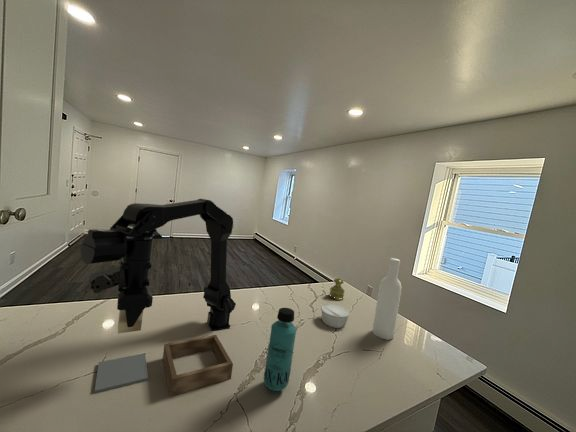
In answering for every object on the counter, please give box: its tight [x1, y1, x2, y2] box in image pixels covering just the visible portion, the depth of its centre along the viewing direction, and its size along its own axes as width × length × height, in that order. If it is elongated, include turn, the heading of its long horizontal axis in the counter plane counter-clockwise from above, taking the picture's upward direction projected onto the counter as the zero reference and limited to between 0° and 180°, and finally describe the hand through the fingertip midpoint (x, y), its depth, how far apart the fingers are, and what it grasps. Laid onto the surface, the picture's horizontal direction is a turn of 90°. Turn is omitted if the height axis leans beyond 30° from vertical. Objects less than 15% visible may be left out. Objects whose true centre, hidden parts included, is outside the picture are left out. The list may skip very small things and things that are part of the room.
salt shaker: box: [329, 278, 346, 301], centre depth 130 cm, size 7×7×10 cm
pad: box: [94, 352, 149, 394], centre depth 60 cm, size 10×10×1 cm
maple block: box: [117, 310, 144, 334], centre depth 59 cm, size 4×4×6 cm
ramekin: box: [321, 303, 350, 329], centre depth 102 cm, size 11×11×5 cm
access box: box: [162, 334, 234, 397], centre depth 65 cm, size 14×14×4 cm
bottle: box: [372, 257, 403, 341], centre depth 97 cm, size 8×8×30 cm
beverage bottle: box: [263, 307, 297, 392], centre depth 62 cm, size 6×7×20 cm
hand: (129, 321), depth 59 cm, fingers closed on maple block, 4 cm apart
